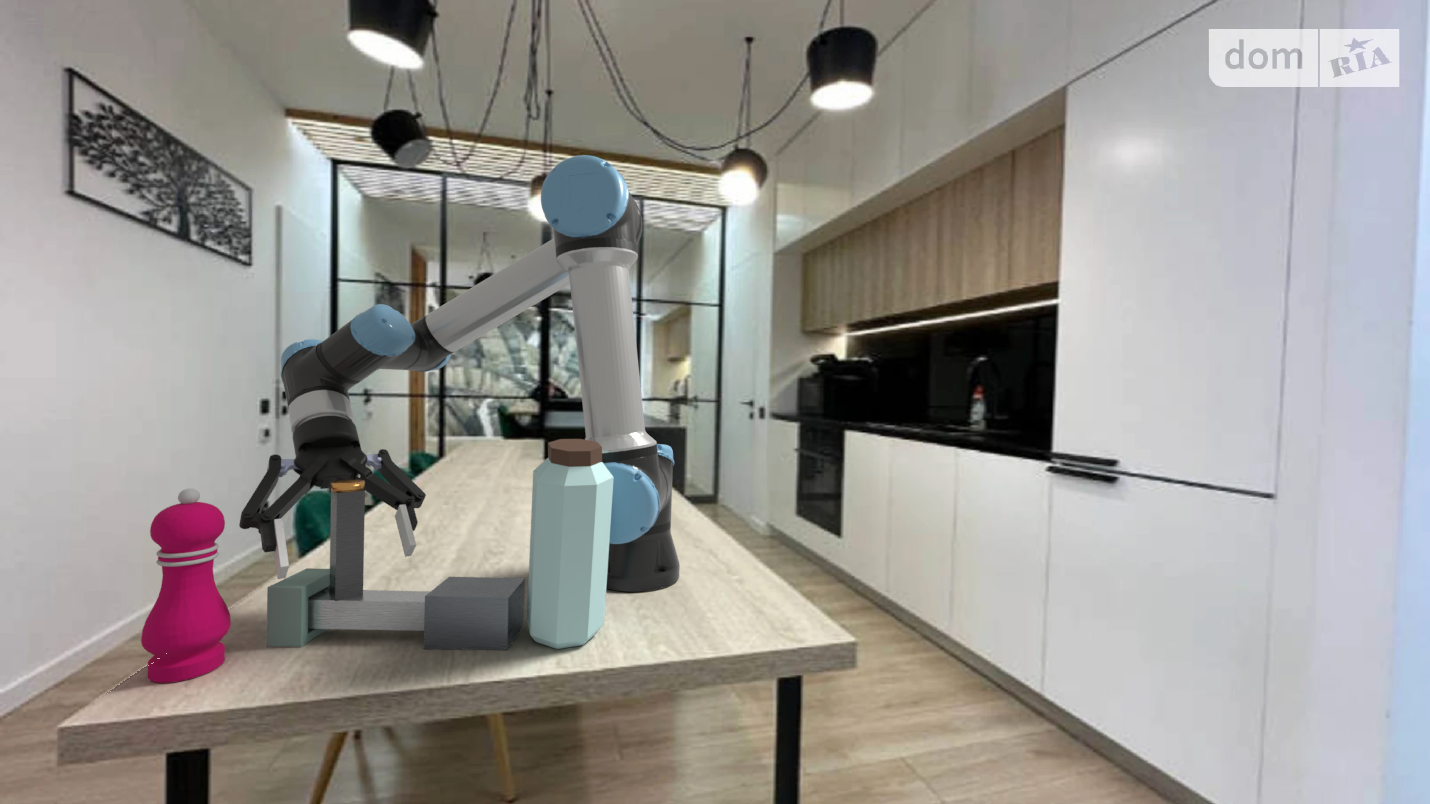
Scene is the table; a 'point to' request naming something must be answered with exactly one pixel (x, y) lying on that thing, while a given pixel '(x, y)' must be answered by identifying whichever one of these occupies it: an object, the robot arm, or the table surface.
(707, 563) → the table surface
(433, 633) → the charcoal rectangular brick
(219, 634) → the pepper mill
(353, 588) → the gray hammer
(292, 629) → the socket block
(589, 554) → the water bottle
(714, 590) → the table surface
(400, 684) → the table surface
